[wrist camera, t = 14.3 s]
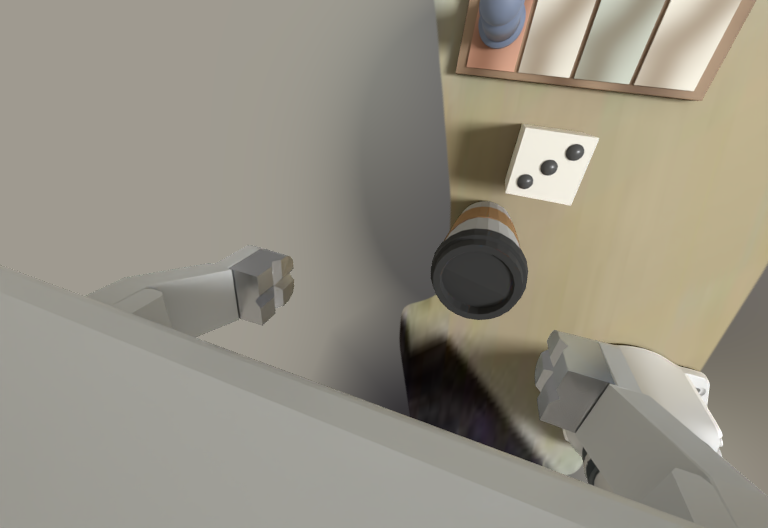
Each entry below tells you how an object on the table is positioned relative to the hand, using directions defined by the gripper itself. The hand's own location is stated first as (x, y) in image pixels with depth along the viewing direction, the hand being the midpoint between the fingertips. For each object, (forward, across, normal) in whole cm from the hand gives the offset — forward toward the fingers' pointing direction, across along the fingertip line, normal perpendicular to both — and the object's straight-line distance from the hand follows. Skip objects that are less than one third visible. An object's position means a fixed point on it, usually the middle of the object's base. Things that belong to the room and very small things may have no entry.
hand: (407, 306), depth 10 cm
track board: (+31, +7, +12) cm, 34 cm away
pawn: (+30, -1, +12) cm, 32 cm away
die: (+31, +7, +1) cm, 32 cm away
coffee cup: (+31, +3, -8) cm, 32 cm away
